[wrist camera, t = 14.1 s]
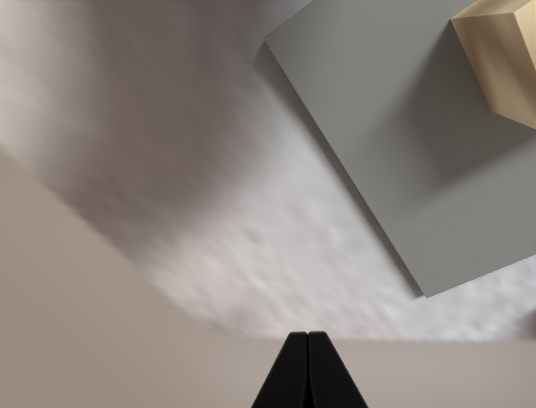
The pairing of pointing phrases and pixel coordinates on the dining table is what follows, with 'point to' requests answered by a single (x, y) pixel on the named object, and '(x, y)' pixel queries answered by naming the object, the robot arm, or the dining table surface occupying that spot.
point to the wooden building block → (502, 54)
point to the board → (416, 133)
